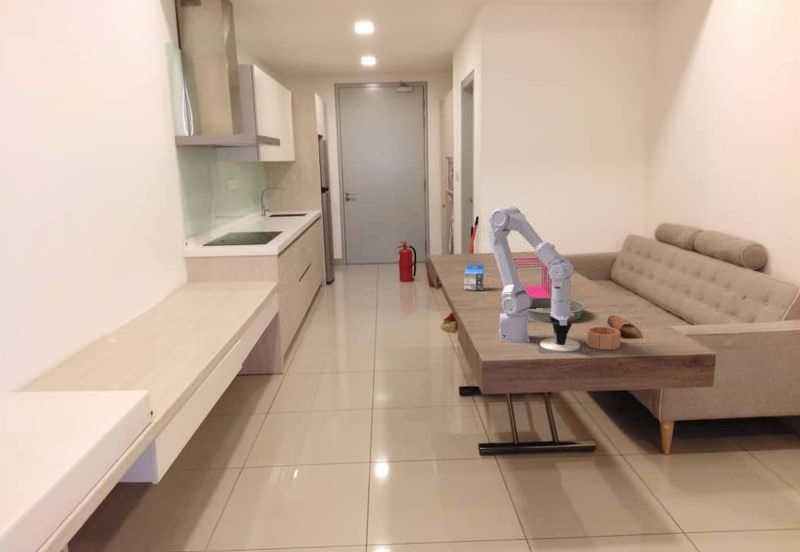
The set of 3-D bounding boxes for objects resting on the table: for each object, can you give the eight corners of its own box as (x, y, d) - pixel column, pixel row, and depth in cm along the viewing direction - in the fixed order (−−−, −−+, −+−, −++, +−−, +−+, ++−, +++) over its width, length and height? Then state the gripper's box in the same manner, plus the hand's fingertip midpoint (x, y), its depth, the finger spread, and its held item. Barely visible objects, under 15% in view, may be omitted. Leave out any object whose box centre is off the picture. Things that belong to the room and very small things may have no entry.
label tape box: (464, 290, 264) (463, 265, 262) (465, 289, 268) (465, 263, 265) (482, 291, 261) (482, 265, 259) (484, 289, 265) (483, 264, 262)
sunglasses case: (644, 338, 182) (634, 321, 182) (625, 348, 184) (614, 331, 184) (631, 323, 200) (622, 308, 199) (613, 333, 201) (604, 317, 201)
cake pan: (521, 323, 206) (521, 311, 205) (517, 307, 230) (517, 297, 229) (590, 324, 202) (591, 312, 201) (579, 308, 226) (579, 297, 225)
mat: (539, 354, 171) (539, 352, 170) (535, 340, 184) (535, 339, 184) (586, 355, 168) (586, 353, 168) (579, 341, 182) (579, 339, 182)
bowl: (589, 350, 173) (590, 334, 172) (584, 341, 182) (584, 326, 181) (622, 351, 171) (622, 335, 170) (615, 341, 180) (615, 326, 180)
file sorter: (512, 301, 240) (512, 265, 237) (506, 289, 264) (506, 256, 262) (553, 301, 238) (554, 265, 235) (544, 289, 263) (544, 256, 260)
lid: (542, 351, 171) (542, 338, 170) (538, 340, 183) (538, 327, 182) (582, 352, 169) (583, 338, 169) (576, 340, 181) (576, 327, 180)
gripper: (577, 305, 166) (576, 348, 168) (570, 294, 180) (569, 335, 182) (553, 305, 167) (552, 348, 169) (548, 294, 181) (547, 334, 183)
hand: (559, 341), depth 176 cm, fingers open, 5 cm apart
